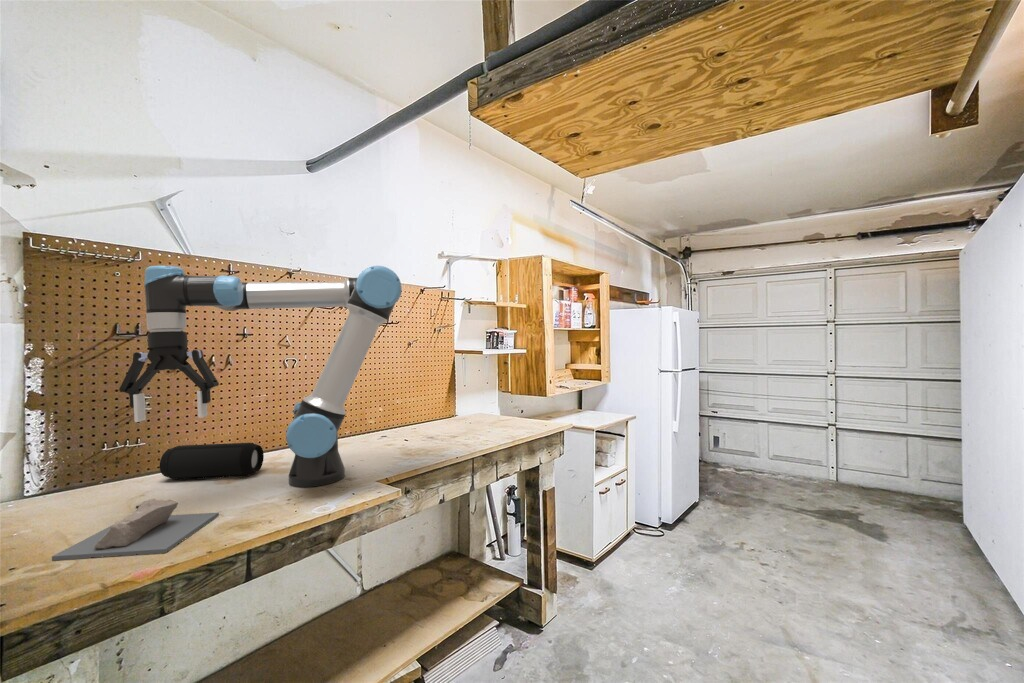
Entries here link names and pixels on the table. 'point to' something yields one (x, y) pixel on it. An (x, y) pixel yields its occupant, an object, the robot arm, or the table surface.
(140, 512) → the concrete fragment
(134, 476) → the table surface
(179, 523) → the rubber mat
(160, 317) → the robot arm
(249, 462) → the portable speaker
